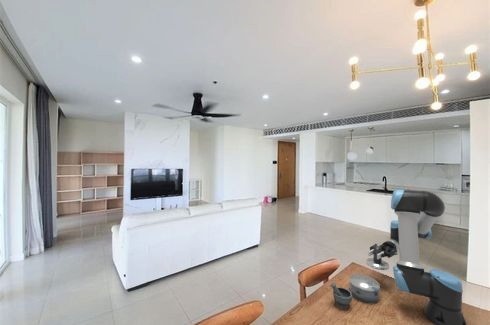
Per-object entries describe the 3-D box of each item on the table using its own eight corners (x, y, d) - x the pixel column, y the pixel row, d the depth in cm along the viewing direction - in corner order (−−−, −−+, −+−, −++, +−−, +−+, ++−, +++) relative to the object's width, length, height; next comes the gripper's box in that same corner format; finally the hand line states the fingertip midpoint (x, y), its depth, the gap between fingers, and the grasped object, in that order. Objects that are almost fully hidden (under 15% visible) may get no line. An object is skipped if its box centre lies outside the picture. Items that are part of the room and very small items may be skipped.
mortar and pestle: (347, 299, 120) (347, 278, 120) (355, 311, 111) (355, 289, 110) (327, 298, 121) (327, 278, 120) (333, 310, 111) (333, 288, 111)
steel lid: (392, 271, 125) (392, 252, 125) (370, 268, 128) (370, 250, 128) (384, 261, 137) (384, 244, 137) (364, 259, 140) (364, 242, 140)
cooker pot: (384, 306, 114) (384, 291, 114) (353, 301, 118) (353, 287, 118) (373, 288, 130) (374, 275, 129) (346, 284, 133) (346, 272, 133)
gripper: (405, 257, 135) (389, 267, 122) (376, 247, 150) (359, 255, 137) (405, 245, 135) (389, 254, 122) (376, 237, 149) (359, 244, 137)
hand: (373, 255), depth 129 cm, fingers closed on steel lid, 4 cm apart
